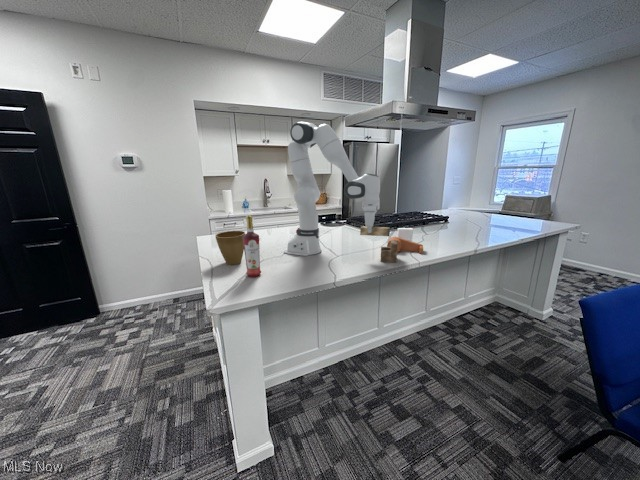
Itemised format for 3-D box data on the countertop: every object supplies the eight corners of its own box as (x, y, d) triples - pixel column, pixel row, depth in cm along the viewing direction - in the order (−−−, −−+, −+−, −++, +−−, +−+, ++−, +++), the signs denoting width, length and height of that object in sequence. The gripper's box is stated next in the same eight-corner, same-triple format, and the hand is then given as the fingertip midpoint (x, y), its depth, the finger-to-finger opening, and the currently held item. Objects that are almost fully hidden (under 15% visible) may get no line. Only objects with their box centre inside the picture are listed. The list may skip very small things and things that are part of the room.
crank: (386, 252, 155) (387, 239, 153) (387, 248, 163) (388, 236, 161) (422, 255, 149) (424, 241, 147) (422, 251, 156) (423, 238, 154)
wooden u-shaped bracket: (380, 261, 139) (381, 243, 136) (380, 256, 146) (381, 239, 144) (396, 262, 137) (397, 244, 135) (395, 257, 145) (396, 240, 142)
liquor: (247, 279, 119) (241, 218, 111) (244, 273, 125) (239, 215, 118) (263, 276, 121) (258, 216, 114) (260, 271, 128) (255, 214, 121)
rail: (360, 235, 139) (360, 227, 138) (360, 233, 142) (361, 226, 141) (389, 236, 136) (389, 228, 135) (389, 234, 139) (389, 227, 138)
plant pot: (239, 256, 151) (236, 229, 147) (253, 262, 140) (250, 233, 136) (213, 262, 141) (210, 233, 137) (226, 269, 130) (223, 238, 126)
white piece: (397, 249, 160) (399, 230, 157) (395, 245, 169) (396, 227, 165) (413, 249, 159) (414, 230, 156) (409, 245, 167) (411, 227, 164)
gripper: (366, 203, 146) (365, 227, 150) (363, 208, 127) (362, 236, 131) (377, 203, 145) (376, 227, 148) (376, 208, 126) (375, 236, 129)
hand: (369, 231), depth 139 cm, fingers closed on rail, 3 cm apart
